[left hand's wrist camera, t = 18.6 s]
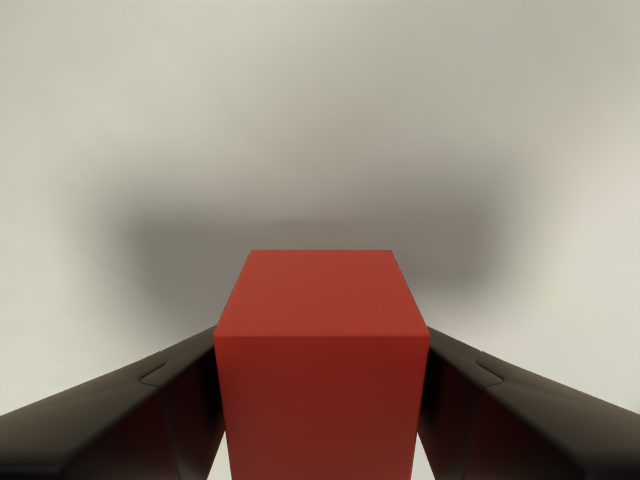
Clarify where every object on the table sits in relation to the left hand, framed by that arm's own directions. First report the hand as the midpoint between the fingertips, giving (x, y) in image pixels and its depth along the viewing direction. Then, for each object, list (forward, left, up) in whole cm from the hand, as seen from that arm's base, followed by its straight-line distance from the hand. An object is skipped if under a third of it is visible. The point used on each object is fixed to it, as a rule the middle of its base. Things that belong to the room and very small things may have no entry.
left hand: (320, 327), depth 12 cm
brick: (0, 0, -1) cm, 1 cm away
